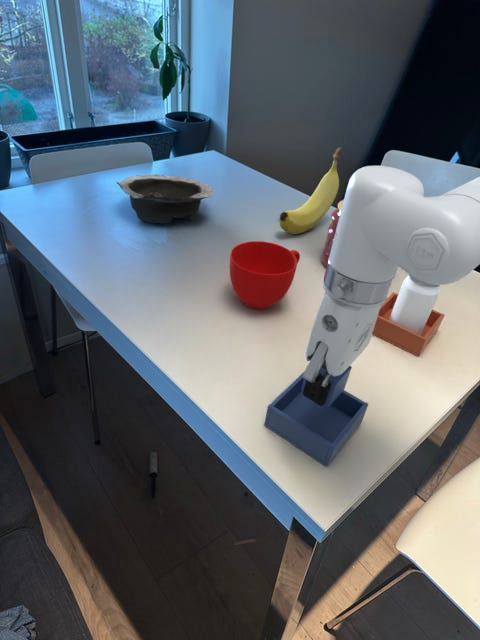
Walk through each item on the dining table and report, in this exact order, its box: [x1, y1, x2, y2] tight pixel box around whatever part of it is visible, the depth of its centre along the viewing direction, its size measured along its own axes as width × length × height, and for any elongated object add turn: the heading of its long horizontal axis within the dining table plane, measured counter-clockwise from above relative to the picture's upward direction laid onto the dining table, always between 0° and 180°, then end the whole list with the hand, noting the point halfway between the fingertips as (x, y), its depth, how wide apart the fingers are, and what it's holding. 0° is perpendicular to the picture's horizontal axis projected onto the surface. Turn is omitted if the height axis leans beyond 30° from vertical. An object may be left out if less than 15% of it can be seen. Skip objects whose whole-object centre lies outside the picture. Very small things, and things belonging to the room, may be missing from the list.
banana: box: [278, 146, 343, 235], centre depth 115 cm, size 23×6×20 cm, turn 138°
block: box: [301, 365, 353, 407], centre depth 61 cm, size 4×4×4 cm
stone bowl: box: [116, 174, 215, 224], centre depth 118 cm, size 25×25×9 cm
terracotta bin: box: [372, 291, 446, 357], centre depth 87 cm, size 11×11×4 cm
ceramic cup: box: [229, 240, 301, 310], centre depth 89 cm, size 13×17×10 cm
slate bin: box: [263, 370, 370, 468], centre depth 65 cm, size 11×11×4 cm
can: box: [389, 274, 441, 335], centre depth 83 cm, size 6×6×12 cm
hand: (323, 388), depth 62 cm, fingers closed on block, 4 cm apart
